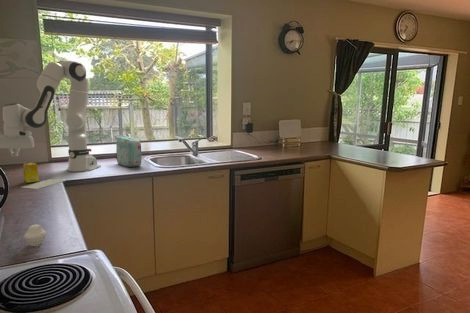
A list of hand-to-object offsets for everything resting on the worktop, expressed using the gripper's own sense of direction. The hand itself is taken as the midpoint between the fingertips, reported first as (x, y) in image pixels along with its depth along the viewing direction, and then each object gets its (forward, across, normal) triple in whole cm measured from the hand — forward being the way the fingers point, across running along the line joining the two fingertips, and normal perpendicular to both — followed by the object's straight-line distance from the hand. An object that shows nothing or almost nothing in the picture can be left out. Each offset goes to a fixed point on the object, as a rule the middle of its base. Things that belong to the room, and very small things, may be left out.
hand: (14, 156), depth 192 cm
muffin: (+14, +42, -96) cm, 106 cm away
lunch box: (+13, +59, +40) cm, 72 cm away
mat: (+14, +18, -10) cm, 25 cm away
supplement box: (+15, +9, -4) cm, 18 cm away
